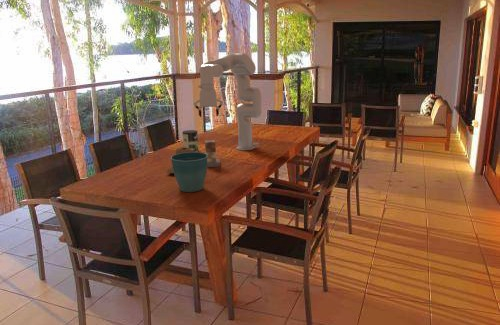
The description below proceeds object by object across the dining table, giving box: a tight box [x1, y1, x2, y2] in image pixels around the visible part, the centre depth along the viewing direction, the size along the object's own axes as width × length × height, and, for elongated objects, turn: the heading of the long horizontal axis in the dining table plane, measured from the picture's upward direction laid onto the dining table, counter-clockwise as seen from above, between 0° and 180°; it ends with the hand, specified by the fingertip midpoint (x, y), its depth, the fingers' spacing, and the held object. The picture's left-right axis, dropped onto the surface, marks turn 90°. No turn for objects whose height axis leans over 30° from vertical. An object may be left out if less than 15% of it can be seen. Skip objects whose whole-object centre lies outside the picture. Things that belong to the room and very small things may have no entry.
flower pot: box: [170, 151, 208, 193], centre depth 219 cm, size 18×18×17 cm
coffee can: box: [182, 129, 199, 152], centre depth 302 cm, size 10×10×14 cm
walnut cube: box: [204, 139, 217, 153], centre depth 264 cm, size 6×6×6 cm
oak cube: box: [204, 151, 217, 162], centre depth 265 cm, size 6×6×6 cm
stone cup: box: [166, 146, 194, 175], centre depth 248 cm, size 15×12×15 cm
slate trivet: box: [207, 157, 221, 168], centre depth 266 cm, size 10×10×2 cm
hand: (208, 116), depth 260 cm, fingers open, 9 cm apart
